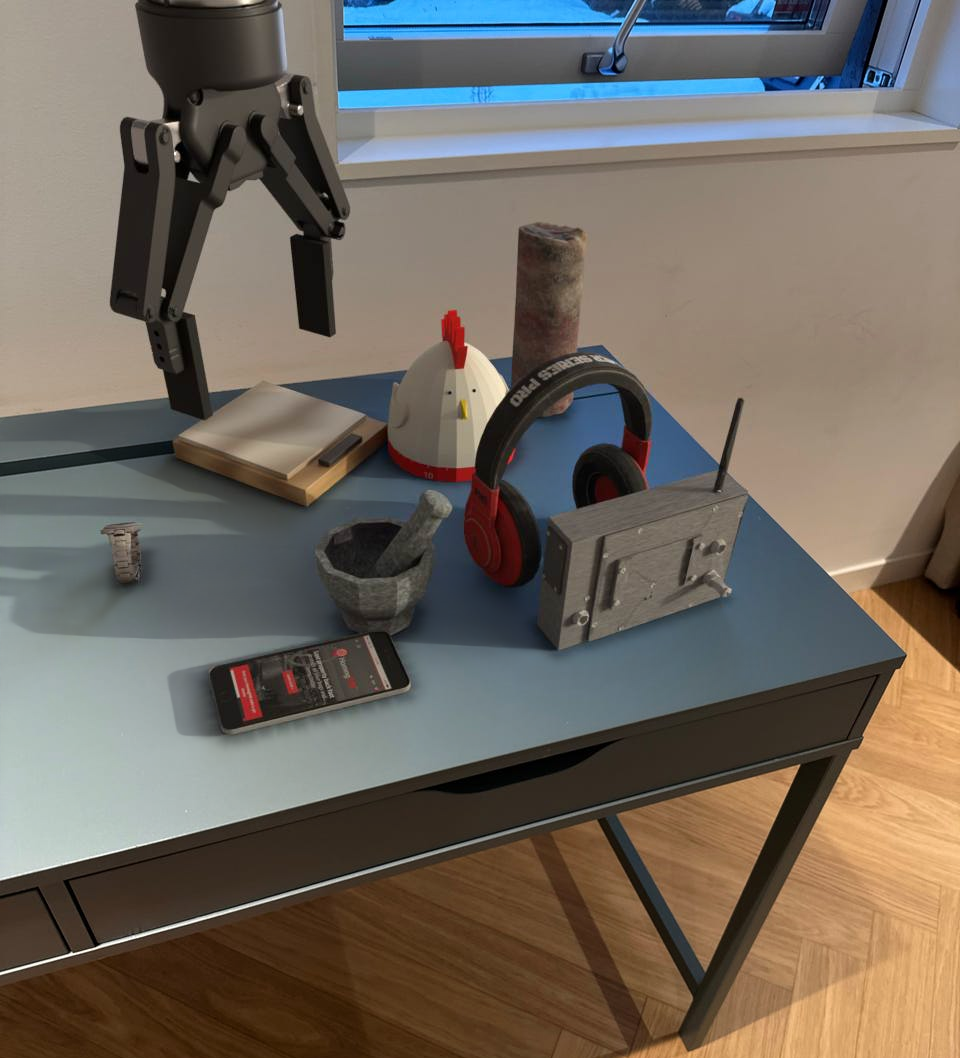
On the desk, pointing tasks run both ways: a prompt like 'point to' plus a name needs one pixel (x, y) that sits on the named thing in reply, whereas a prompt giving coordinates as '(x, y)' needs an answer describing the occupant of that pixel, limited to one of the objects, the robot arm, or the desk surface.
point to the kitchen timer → (443, 407)
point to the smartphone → (306, 681)
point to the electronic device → (640, 554)
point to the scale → (282, 442)
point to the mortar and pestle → (381, 565)
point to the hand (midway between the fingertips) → (259, 369)
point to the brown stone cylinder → (547, 299)
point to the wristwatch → (125, 550)
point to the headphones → (599, 475)
